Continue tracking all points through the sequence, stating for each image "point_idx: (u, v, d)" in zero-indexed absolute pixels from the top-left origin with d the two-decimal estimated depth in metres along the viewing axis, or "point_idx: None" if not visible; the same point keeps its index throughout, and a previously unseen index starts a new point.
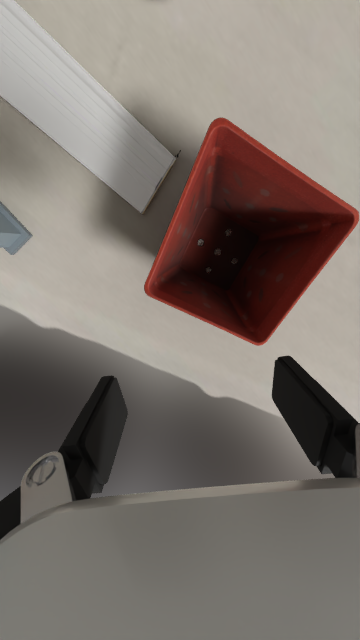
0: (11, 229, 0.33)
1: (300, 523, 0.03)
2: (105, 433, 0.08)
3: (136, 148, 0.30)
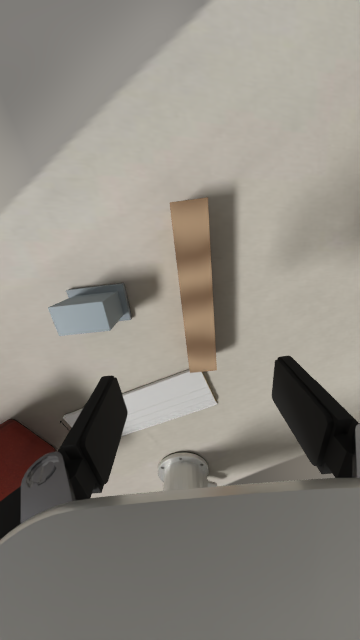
0: None
1: (301, 523, 0.03)
2: (105, 433, 0.08)
3: None
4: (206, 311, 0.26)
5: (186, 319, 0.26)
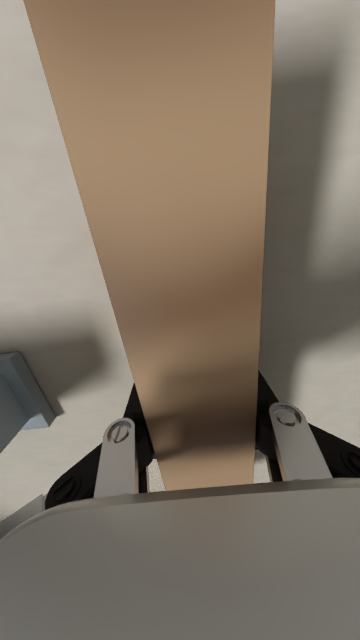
0: None
1: (300, 523, 0.03)
2: None
3: None
4: (233, 461, 0.08)
5: (170, 478, 0.09)
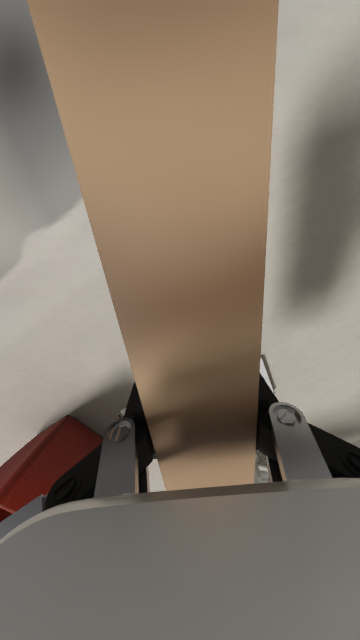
0: None
1: (301, 523, 0.03)
2: None
3: None
4: (234, 460, 0.08)
5: (171, 477, 0.09)
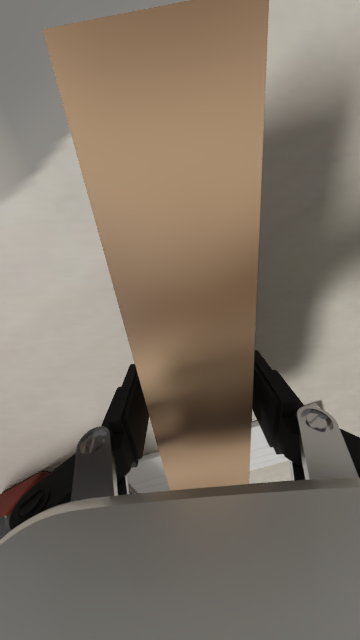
0: None
1: (300, 522, 0.03)
2: (138, 414, 0.09)
3: None
4: (230, 450, 0.09)
5: (171, 467, 0.09)
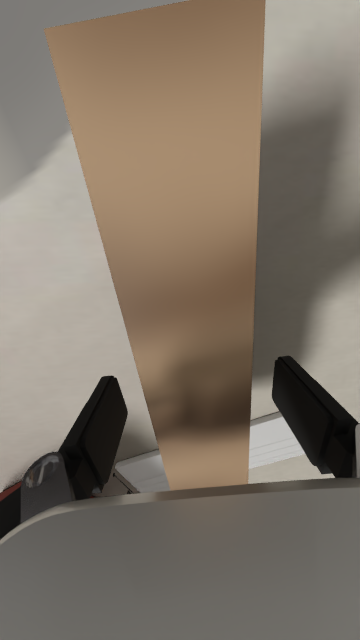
0: None
1: (300, 522, 0.03)
2: (105, 433, 0.08)
3: None
4: (229, 447, 0.09)
5: (171, 463, 0.09)
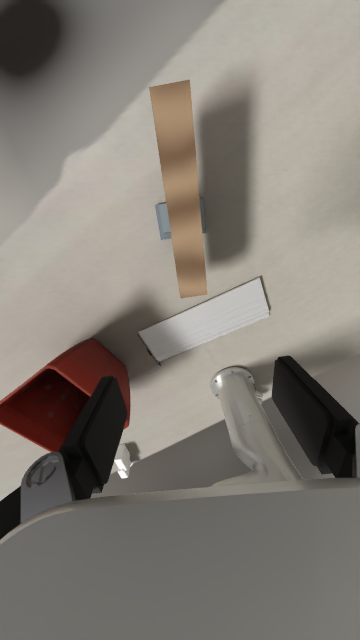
0: (169, 232, 0.34)
1: (300, 523, 0.03)
2: (105, 433, 0.08)
3: (172, 346, 0.47)
4: (194, 224, 0.25)
5: (174, 235, 0.25)
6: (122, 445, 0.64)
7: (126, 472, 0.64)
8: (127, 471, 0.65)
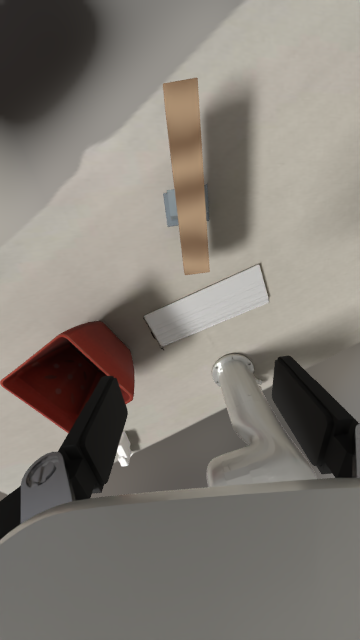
0: (175, 219, 0.37)
1: (301, 522, 0.03)
2: (105, 433, 0.08)
3: (176, 330, 0.49)
4: (199, 205, 0.28)
5: (180, 214, 0.28)
6: (122, 433, 0.65)
7: (126, 460, 0.65)
8: (127, 459, 0.66)
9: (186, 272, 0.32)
